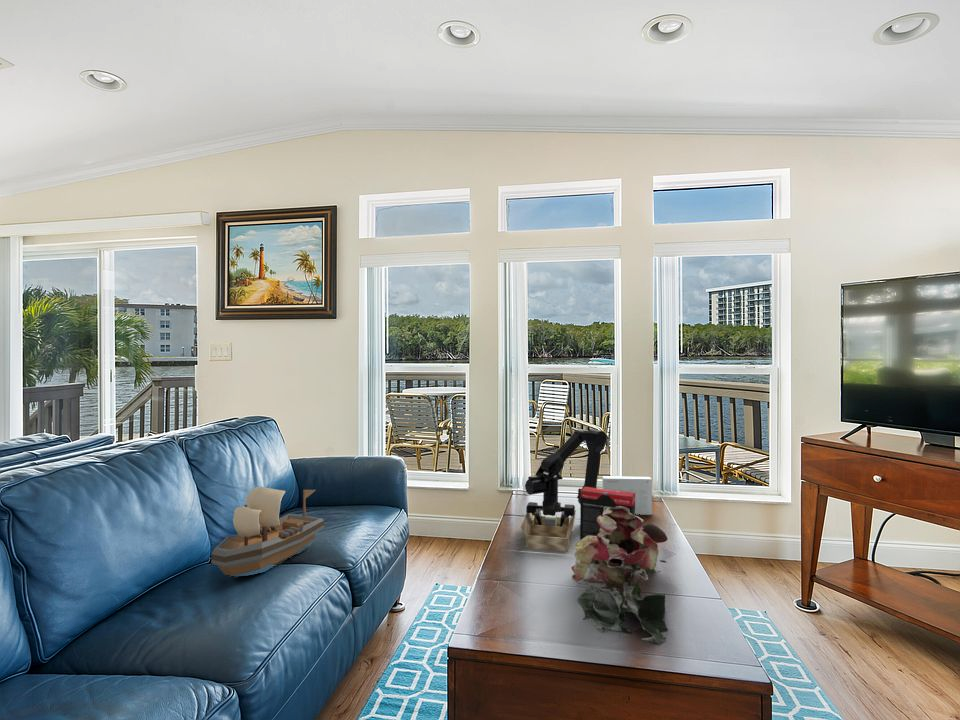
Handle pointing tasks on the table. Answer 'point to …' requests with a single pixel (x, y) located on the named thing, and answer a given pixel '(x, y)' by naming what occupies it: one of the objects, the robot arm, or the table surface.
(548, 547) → the wooden cubby shelf
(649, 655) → the table surface
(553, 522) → the box
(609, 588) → the rose bouquet
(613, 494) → the graphics card box
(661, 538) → the decorative mushroom
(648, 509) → the skincare box
